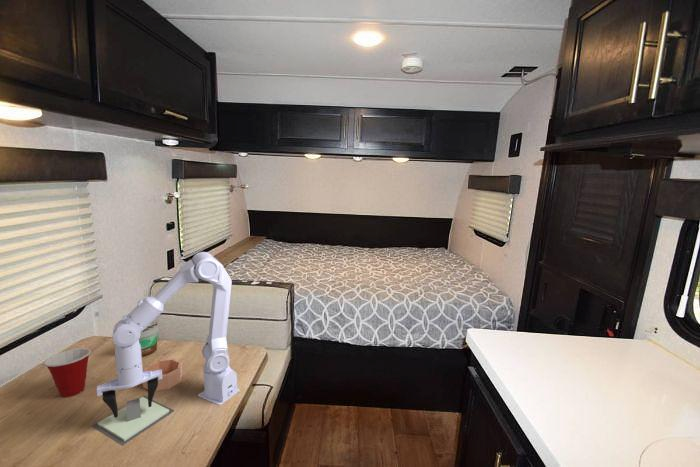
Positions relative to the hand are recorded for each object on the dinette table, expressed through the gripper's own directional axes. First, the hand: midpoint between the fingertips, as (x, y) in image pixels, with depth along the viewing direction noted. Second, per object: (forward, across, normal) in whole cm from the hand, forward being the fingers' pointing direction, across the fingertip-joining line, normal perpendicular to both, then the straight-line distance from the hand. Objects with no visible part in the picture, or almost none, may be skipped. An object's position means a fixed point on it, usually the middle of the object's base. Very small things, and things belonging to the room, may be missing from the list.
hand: (133, 409), depth 89 cm
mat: (+3, 0, 0) cm, 3 cm away
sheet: (+2, 0, 0) cm, 3 cm away
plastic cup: (+3, +16, -24) cm, 29 cm away
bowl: (+3, -8, -15) cm, 17 cm away
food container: (+3, -4, -38) cm, 38 cm away
